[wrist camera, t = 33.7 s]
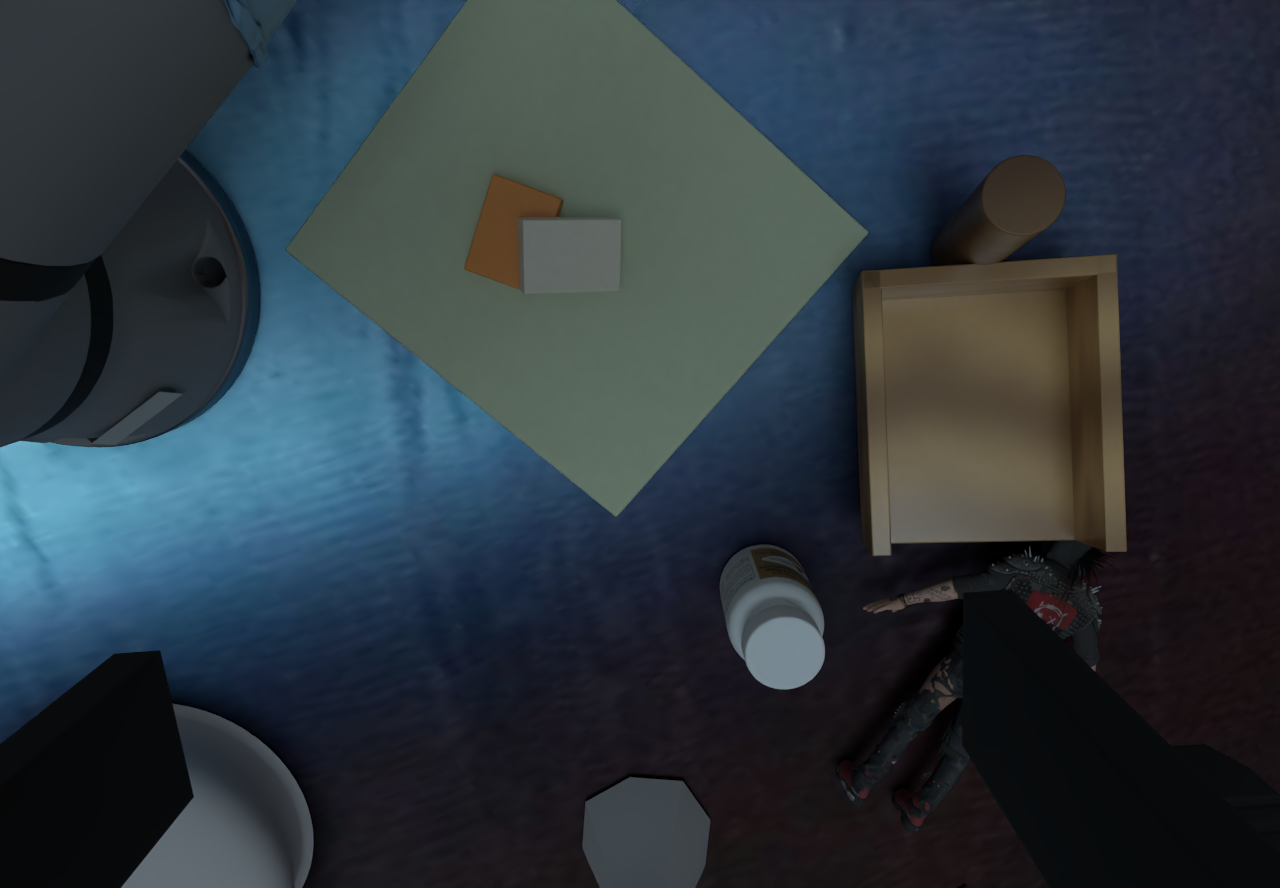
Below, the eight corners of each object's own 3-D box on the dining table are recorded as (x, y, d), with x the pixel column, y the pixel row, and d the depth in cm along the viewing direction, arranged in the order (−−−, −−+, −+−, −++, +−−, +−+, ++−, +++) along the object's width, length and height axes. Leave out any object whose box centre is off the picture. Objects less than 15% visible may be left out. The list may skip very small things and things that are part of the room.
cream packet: (522, 219, 37) (517, 216, 38) (524, 295, 38) (519, 290, 39) (621, 218, 38) (614, 216, 39) (620, 291, 39) (613, 287, 40)
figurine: (775, 791, 41) (1025, 439, 36) (762, 720, 47) (976, 407, 42) (1007, 907, 43) (1278, 585, 38) (968, 825, 49) (1199, 535, 44)
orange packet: (463, 269, 39) (468, 268, 40) (531, 293, 39) (534, 292, 40) (492, 173, 38) (497, 174, 39) (561, 198, 38) (564, 199, 39)
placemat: (289, 249, 41) (284, 250, 40) (529, -78, 37) (527, -83, 37) (616, 513, 44) (616, 517, 43) (866, 232, 40) (869, 232, 40)
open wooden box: (1087, 537, 39) (1192, 574, 30) (861, 542, 41) (889, 578, 31) (1076, 213, 39) (1178, 141, 29) (849, 230, 41) (873, 167, 31)
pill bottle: (822, 574, 44) (858, 644, 37) (768, 637, 45) (792, 718, 38) (755, 525, 44) (777, 586, 36) (701, 590, 45) (712, 662, 37)
